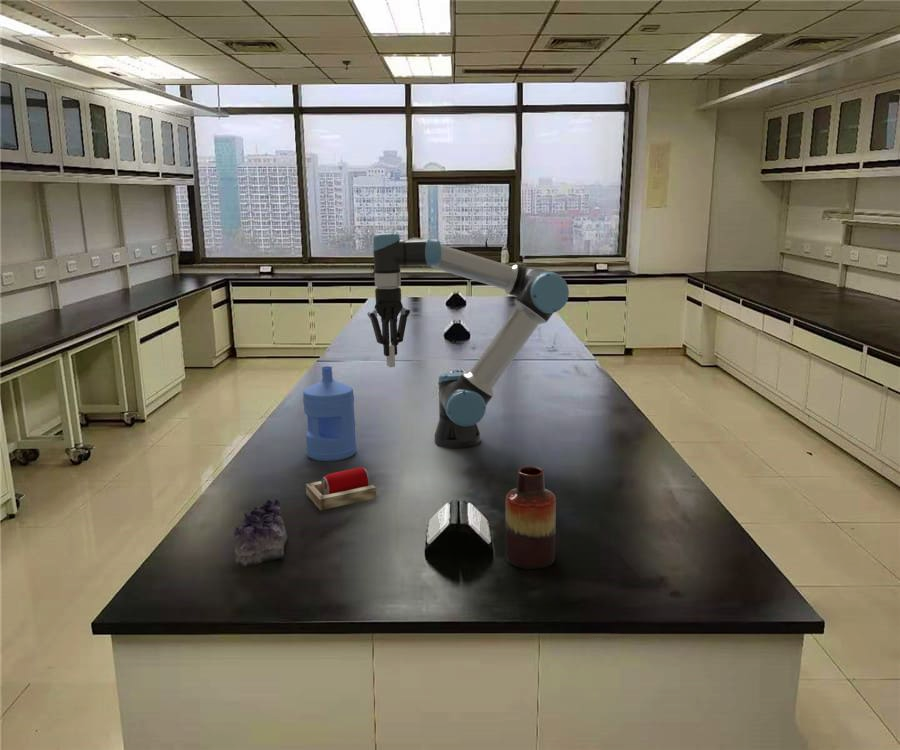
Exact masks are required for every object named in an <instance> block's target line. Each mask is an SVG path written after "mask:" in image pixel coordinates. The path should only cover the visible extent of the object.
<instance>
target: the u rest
mask: <svg viewBox="0 0 900 750" xmlns="http://www.w3.org/2000/svg"><path fill="white" fill-rule="evenodd" d="M305 490H306V491H305V494H306V496H308V498H309V499H310V501H312V502H313V503H314V505H315V506H316V507H317V508H318V509H319V510H320V511H323V510H324V511H325V510H328V509H333V508H337V507H340V506H346V505H350V504H355V503H360V502H365V501H368V500H373V499H376V498H377V487H376V486H375V485H374V484H371V485H370V484H369V486H366V487H361V488H356V489H352V490H347V491H342V492H337V493H333V494H328V495H324V493H323V490H322V485H321V480H319V481H314V482H310V483H305Z"/></svg>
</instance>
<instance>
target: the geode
mask: <svg viewBox="0 0 900 750" xmlns="http://www.w3.org/2000/svg"><path fill="white" fill-rule="evenodd" d="M282 515H283V514H282V504H281V502H280V501H279V500H278V499H275V500H274V501H272V500H269V499H267V500H266V502H263V503H262V505H261V506H258V505H257V506H255V507H254V508H253V509H252V510H251V511H249V512H246V511H245V512H244V520H243V521H242V522H241V523H240V524H239V525H237V526H236V527H235V529H234V532H233V535H234V538H235V540H234V543H235V545H234V554H235V563H236V564H237V565H241V567H243V568H246V567H249V566H253V565H257V564H261V563H264V562H269V561H273V560H275V561H277V560H280V559H282V558H284V556H285V551H284V550H285V547H286V544H287V542H288V540H289V537H288V534H287V530H286V527H285V522H284V520H283V517H282Z"/></svg>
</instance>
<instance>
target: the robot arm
mask: <svg viewBox="0 0 900 750" xmlns="http://www.w3.org/2000/svg"><path fill="white" fill-rule="evenodd" d="M372 241H373V246H372V247H373V251H372V252H373V268H374V285H375V287H376V288H375V290H374V293H375V294H374V295H375V305H374V309H373V310H371V311H369V312H367V317H369V319H370V322H371V324H372V328H373V333H374V336H375V340H376V342H377V344H380V345H383V355H384V356H385V357H386V366H387V367H389V368H395V367H396V356H397V355H398V345H399V343H403V341H404V338H405V331H406V326H407V325H406V324H407V321H408V317H409V315H410V313H411V311H410V309H407V308H405V307H403V303H402V288H401V287H400V286H401V285H402V282H401V281H402V280H401V279H402V278H401V276H402V275H401V267H417V266H418V267H420V266H421V267H422V266H423V267H430V268H433V269H435V270H439V271H443V272H446V273H449V274H452V275H456V276H458V277H462V278H465V279H470V280H472V281H475V282H479V283H481V284H485V285H488V286H491V287H495V288H499V289H502V290H504V292H505V294H507V295H510V296H513V297H516V298H515V299H514V303H515V309H514V310H513V311H512V312H511V314H510V315H509V316H508V318H507V319H506V321H505V322H504V323H503V325H502V326H501V327H500V329H499V331H498V332H497V333H496V335H494V337H493V339H492V340H491V341H490V343H489V345H488V346H487V348H485V350H484V351H483V353H482V354H481V355H480V356H479V358H478V360H477V361H476V362H475V364H474V366H473V367H472V368H471V369H470V370H469V371H467V372H463V371H462V372H459V371H457V372H446V373H441V374H439V376H438V382H437V385H438V411H439V413H438V415H439V416H438V417H439V420H438V422H437V425H436V429H435V432H434V443H435V445H437V446H440V447H444V448H448V449H449V448H451V449H464V448H465V449H466V448H469V447H474V446H476V445H478V444H480V442H481V432H480V429H479V427H478V424H479V422H481V420H482V419H484V416H485V414H486V411H487V406H488V403H489V402H490V401H491V399H492V398H493V397H494V391H493V388H494V387H495V385H496V384H497V383H498V381H499V380H500V378H502V376H503V374H504V373H505V371H506V370H507V369H508V367H509V366H510V365H511V364H512V362H513V360H514V359H515V358H516V357H517V355H518V354H519V352H520V351H521V350H522V348H523V347H524V345H525V344H526V343H527V341H528V340H529V338H530V337H531V336H532V334H533V333H534V331H535V330H536V329H537V327H538V326H539V325H541V324H545V323H547V322H548V321H549V320H550V318H552V315H554V313H558V311H560V310H561V309H563V308H564V307H565V305H566V304H567V302H568V300H569V296H570V295H569V294H570V292H569V286H568V284H567V281H566V280H565V278H563V277H562V276H561V275H560V274H558V273H556V272H554V271H550V270H546V269H544V268H543V269H542V268H533V267H529V266H528V267H527V266H523V265H520V264H514V265H508V264H505V263H502V262H499V261H496V260H492V259H489V258H486V257H482V256H479V255H476V254H473V253H469V252H465V251H463V250H459V249H456V248H453V247H449V246H446V245H444V244H441V241H440V239H435V238H434V239H432V238H426V239H423V238H422V237H418V236H413V237H410V238H409V239H408V240H407V239H401V238H400V234H399V233H397V232H396V233H395V232H393V233H392V232H391V233H390V232H387V233H385V232H384V233H381V232H380V233H376V234H375V235H374V236H373V240H372ZM378 316H379V317H380V321H381V327H380V323H379V319H378ZM398 316H399V321H398Z"/></svg>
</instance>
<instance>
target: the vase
mask: <svg viewBox="0 0 900 750" xmlns="http://www.w3.org/2000/svg"><path fill="white" fill-rule="evenodd" d="M544 473H545V472H544V469H543V468H540V467H538V466H524V467H520V468H519V469H518V471H517V480H516V481H517V483H516V488H515V487H514V488H512V489H511V490H509V491H508V492H507V493H506V495H505V559H507V560H508V561H509V562H510V563H511V564H513V565H514V566H513V565H512V566H513V567H515V566H517V567H516V568H518V567H520V568H519V569H522V568H525V569H524V570H530V569H535V570H540V569H539V568H542V569H546V568H548V567H550V566H551V565H552V564H553V563H554V562H555V559H556V516H557V515H556V514H557V513H556V511H557V505H556V504H557V498H556V497H557V496H555V494H554V493H553V492H552V491H551V490H549V489H547V488H545V474H544ZM507 560H506V561H507ZM508 561H507V562H508ZM509 562H508V563H509ZM510 563H509V564H510ZM511 564H510V565H511ZM549 565H550V566H549ZM547 566H548V567H547ZM545 567H546V568H545Z"/></svg>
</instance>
